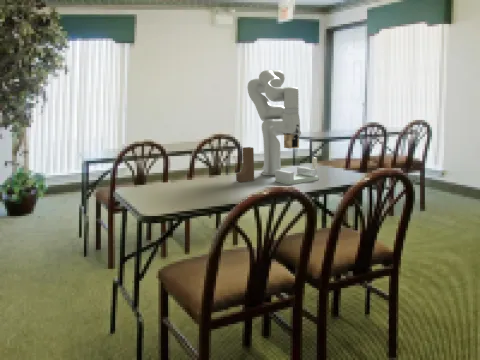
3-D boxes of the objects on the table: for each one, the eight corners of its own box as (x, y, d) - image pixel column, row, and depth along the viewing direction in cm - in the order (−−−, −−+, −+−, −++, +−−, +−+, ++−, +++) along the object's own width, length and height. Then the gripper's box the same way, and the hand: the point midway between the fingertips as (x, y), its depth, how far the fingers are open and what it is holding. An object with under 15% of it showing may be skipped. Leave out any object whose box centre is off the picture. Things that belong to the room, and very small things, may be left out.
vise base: (275, 181, 261) (275, 170, 260) (304, 176, 271) (304, 166, 270) (289, 184, 251) (289, 173, 250) (318, 179, 261) (318, 168, 260)
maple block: (284, 147, 257) (283, 134, 255) (293, 146, 260) (292, 133, 258) (289, 148, 252) (289, 135, 251) (298, 147, 256) (298, 134, 254)
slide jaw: (297, 173, 268) (297, 158, 267) (309, 171, 273) (309, 156, 271) (311, 176, 258) (311, 160, 257) (323, 174, 263) (323, 158, 261)
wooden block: (240, 182, 260) (239, 149, 257) (236, 181, 264) (235, 148, 260) (254, 180, 264) (253, 147, 261) (250, 179, 268) (249, 146, 265)
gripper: (275, 111, 258) (276, 145, 261) (295, 112, 244) (296, 148, 247) (286, 110, 262) (287, 144, 265) (307, 111, 248) (307, 147, 251)
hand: (291, 146), depth 256 cm, fingers closed on maple block, 5 cm apart
